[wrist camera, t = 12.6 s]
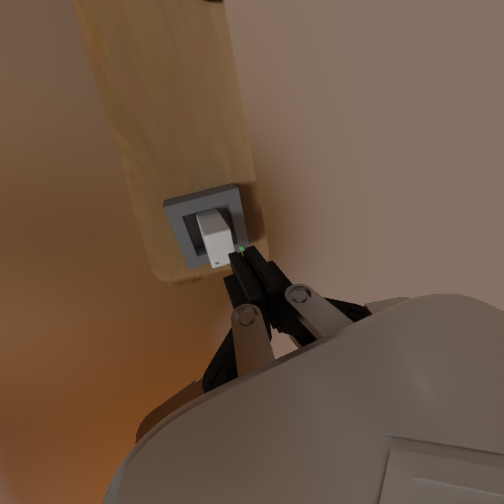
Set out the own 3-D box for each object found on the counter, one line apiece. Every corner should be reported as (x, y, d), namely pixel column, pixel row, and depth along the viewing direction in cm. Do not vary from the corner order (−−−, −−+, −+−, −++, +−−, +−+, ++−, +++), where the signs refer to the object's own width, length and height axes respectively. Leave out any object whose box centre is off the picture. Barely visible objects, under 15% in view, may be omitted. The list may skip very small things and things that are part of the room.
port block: (163, 200, 35) (162, 208, 31) (231, 183, 38) (238, 188, 34) (188, 258, 43) (189, 271, 39) (244, 240, 45) (251, 250, 41)
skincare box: (222, 233, 42) (237, 262, 32) (202, 238, 41) (212, 269, 31) (216, 206, 39) (231, 229, 29) (194, 211, 38) (202, 236, 28)
